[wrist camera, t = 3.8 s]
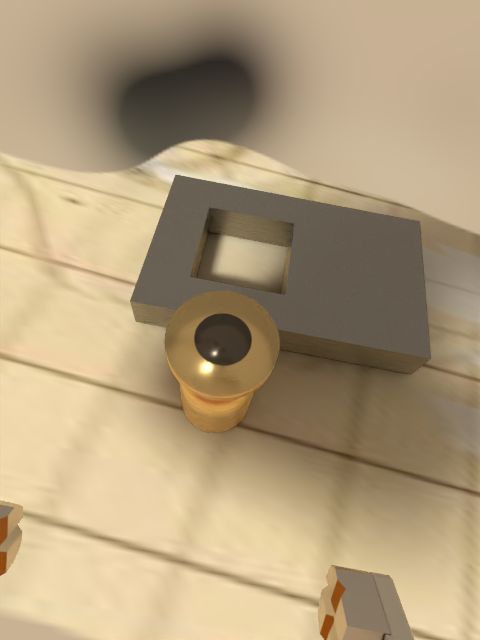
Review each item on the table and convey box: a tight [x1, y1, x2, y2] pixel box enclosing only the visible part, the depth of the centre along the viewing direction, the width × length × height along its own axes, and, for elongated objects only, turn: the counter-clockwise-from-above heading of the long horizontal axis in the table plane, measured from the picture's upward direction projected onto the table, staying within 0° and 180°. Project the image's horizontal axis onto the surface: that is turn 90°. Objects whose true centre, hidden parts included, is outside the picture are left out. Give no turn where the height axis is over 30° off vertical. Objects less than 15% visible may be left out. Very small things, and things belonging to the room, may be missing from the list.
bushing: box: [165, 291, 280, 433], centre depth 20 cm, size 5×5×8 cm
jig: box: [130, 175, 431, 374], centre depth 27 cm, size 18×11×2 cm, turn 81°
